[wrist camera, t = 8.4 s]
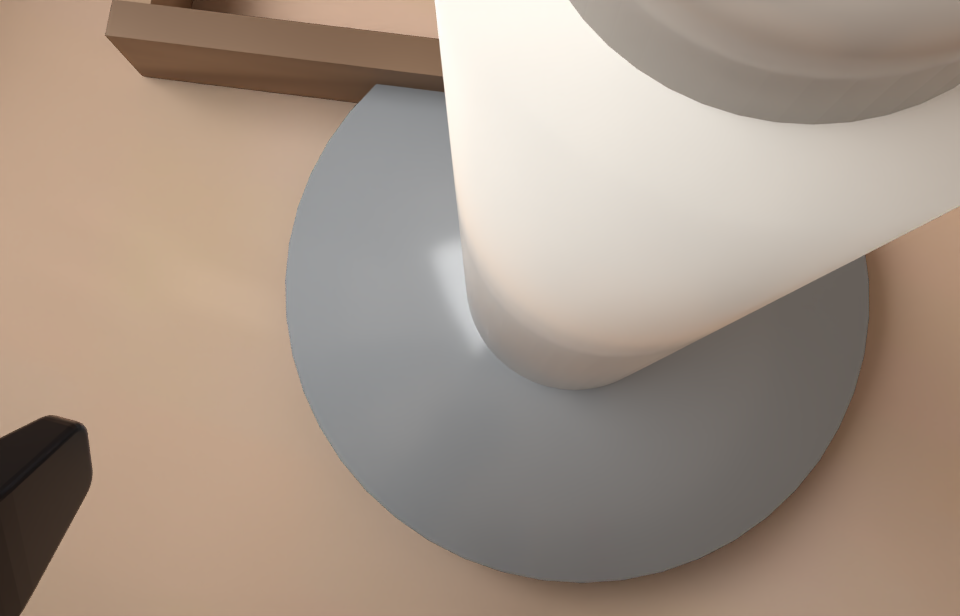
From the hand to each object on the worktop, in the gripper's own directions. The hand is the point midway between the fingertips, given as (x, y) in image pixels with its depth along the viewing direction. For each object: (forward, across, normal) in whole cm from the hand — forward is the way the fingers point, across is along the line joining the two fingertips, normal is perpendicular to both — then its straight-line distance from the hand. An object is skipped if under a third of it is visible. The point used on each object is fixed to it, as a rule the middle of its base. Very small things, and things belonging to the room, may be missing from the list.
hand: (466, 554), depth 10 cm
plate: (+10, -1, +3) cm, 10 cm away
